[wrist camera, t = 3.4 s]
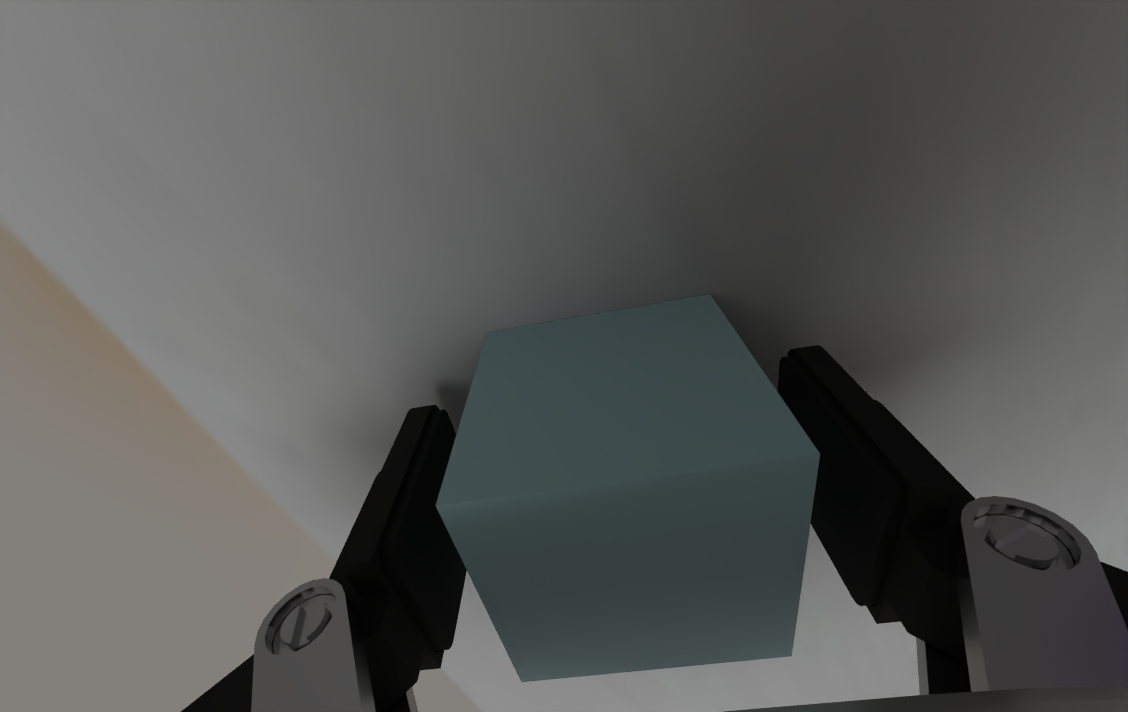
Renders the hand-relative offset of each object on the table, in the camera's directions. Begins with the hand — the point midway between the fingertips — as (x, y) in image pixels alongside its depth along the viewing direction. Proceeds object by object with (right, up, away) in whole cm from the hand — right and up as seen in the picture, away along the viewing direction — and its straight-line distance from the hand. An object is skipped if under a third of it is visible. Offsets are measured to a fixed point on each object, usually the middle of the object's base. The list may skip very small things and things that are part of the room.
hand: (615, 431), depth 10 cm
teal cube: (0, +1, +1) cm, 1 cm away
